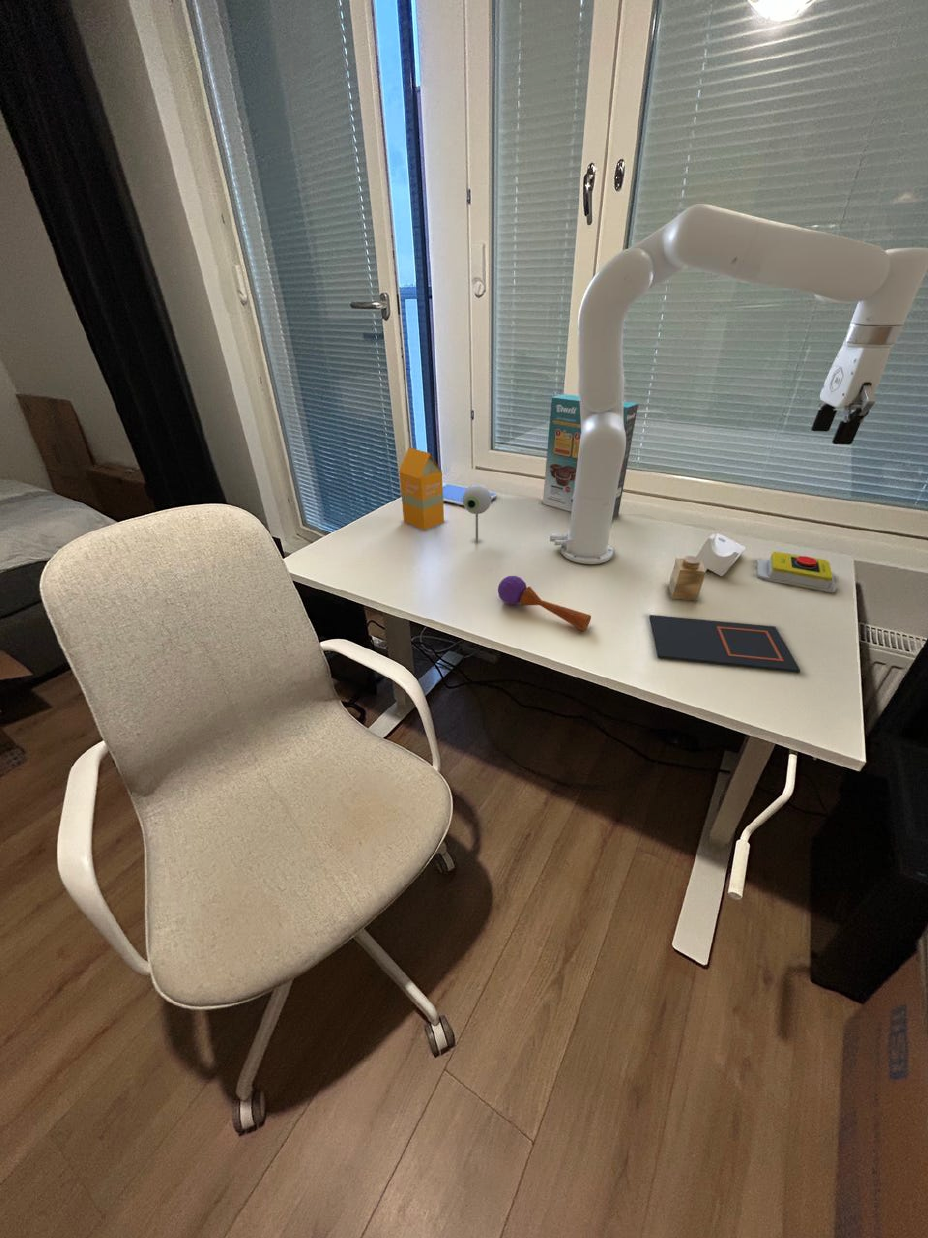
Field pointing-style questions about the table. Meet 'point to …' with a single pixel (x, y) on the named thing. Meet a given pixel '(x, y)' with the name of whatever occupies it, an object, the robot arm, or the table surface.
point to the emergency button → (797, 571)
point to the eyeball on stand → (476, 501)
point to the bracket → (719, 553)
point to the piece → (687, 578)
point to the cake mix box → (575, 451)
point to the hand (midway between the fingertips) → (830, 437)
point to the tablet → (456, 494)
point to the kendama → (538, 601)
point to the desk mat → (721, 643)
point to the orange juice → (421, 490)
